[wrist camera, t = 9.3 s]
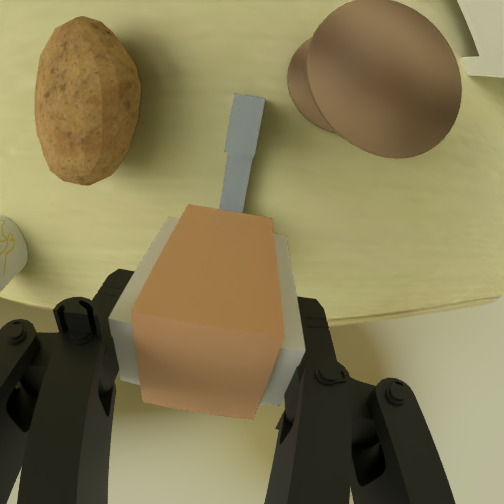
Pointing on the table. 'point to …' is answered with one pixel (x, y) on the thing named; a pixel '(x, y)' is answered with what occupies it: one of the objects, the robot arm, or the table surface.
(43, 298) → the table surface
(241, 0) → the table surface
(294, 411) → the robot arm
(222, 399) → the orange brown tapered block
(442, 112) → the bobbin
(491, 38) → the paper towel holder
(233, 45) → the table surface
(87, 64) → the potato
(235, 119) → the gray board
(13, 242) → the cup
